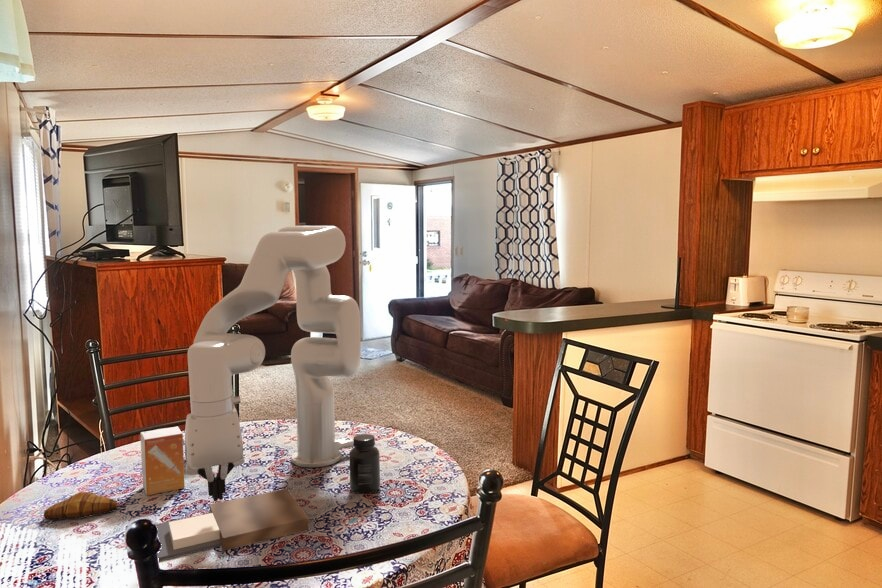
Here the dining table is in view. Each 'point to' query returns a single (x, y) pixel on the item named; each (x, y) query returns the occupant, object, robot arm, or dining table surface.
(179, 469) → the small box
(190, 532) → the block
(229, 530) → the board
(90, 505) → the croissant
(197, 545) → the mat
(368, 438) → the supplement bottle
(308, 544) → the dining table surface
